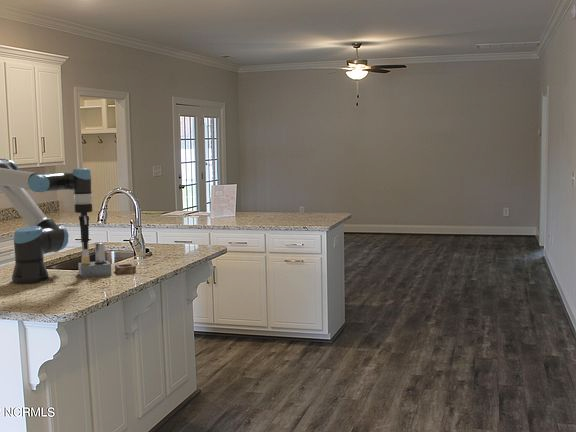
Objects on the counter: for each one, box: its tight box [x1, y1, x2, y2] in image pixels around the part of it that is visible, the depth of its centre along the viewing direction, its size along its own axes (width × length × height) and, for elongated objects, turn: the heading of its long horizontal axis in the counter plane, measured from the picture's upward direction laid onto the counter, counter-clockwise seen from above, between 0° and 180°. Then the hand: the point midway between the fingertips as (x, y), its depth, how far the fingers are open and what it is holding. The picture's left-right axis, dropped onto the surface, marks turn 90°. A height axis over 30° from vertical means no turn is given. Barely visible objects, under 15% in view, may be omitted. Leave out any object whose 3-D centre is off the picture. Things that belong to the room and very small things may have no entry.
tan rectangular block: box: [81, 255, 91, 265], centre depth 300 cm, size 3×3×7 cm
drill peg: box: [94, 242, 106, 264], centre depth 302 cm, size 4×4×14 cm
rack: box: [113, 263, 138, 276], centre depth 307 cm, size 9×9×4 cm
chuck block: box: [77, 260, 113, 279], centre depth 301 cm, size 13×10×6 cm
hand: (85, 255), depth 299 cm, fingers closed
